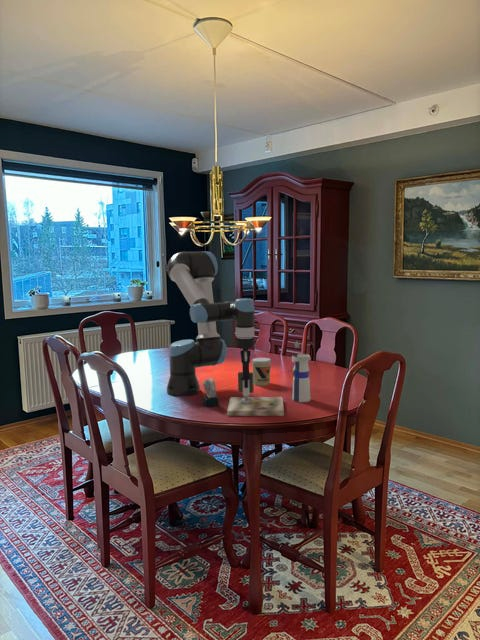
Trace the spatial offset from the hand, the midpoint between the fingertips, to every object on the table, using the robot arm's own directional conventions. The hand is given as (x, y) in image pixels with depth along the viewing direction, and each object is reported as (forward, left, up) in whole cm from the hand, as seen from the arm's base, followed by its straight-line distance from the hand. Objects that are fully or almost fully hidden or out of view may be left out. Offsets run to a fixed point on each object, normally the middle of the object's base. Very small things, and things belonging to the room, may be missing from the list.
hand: (246, 393), depth 197 cm
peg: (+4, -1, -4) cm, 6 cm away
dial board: (+4, -1, -6) cm, 7 cm away
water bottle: (+23, +11, -6) cm, 26 cm away
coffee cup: (+6, +37, -6) cm, 38 cm away
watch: (-15, +4, -6) cm, 17 cm away
